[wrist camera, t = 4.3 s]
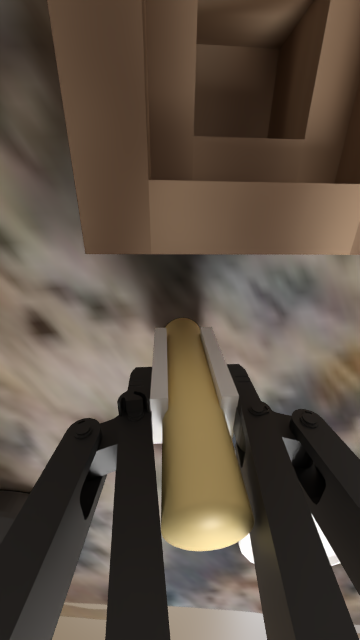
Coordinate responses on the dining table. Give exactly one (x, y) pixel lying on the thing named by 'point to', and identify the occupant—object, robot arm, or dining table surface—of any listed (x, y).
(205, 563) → the dining table surface
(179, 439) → the pin
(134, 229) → the bore block
